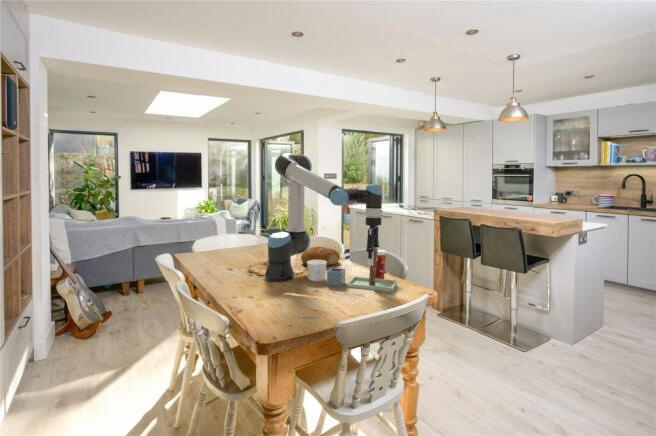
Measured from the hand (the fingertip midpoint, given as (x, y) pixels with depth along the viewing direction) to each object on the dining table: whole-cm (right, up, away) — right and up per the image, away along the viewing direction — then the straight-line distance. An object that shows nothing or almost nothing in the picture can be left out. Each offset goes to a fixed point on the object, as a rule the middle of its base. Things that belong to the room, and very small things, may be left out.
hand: (372, 262), depth 190 cm
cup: (-27, -11, +11) cm, 32 cm away
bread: (-26, -6, +50) cm, 57 cm away
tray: (0, -12, +1) cm, 12 cm away
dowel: (0, -11, +1) cm, 11 cm away
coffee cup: (+5, -11, +17) cm, 20 cm away
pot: (-18, -12, +3) cm, 21 cm away
